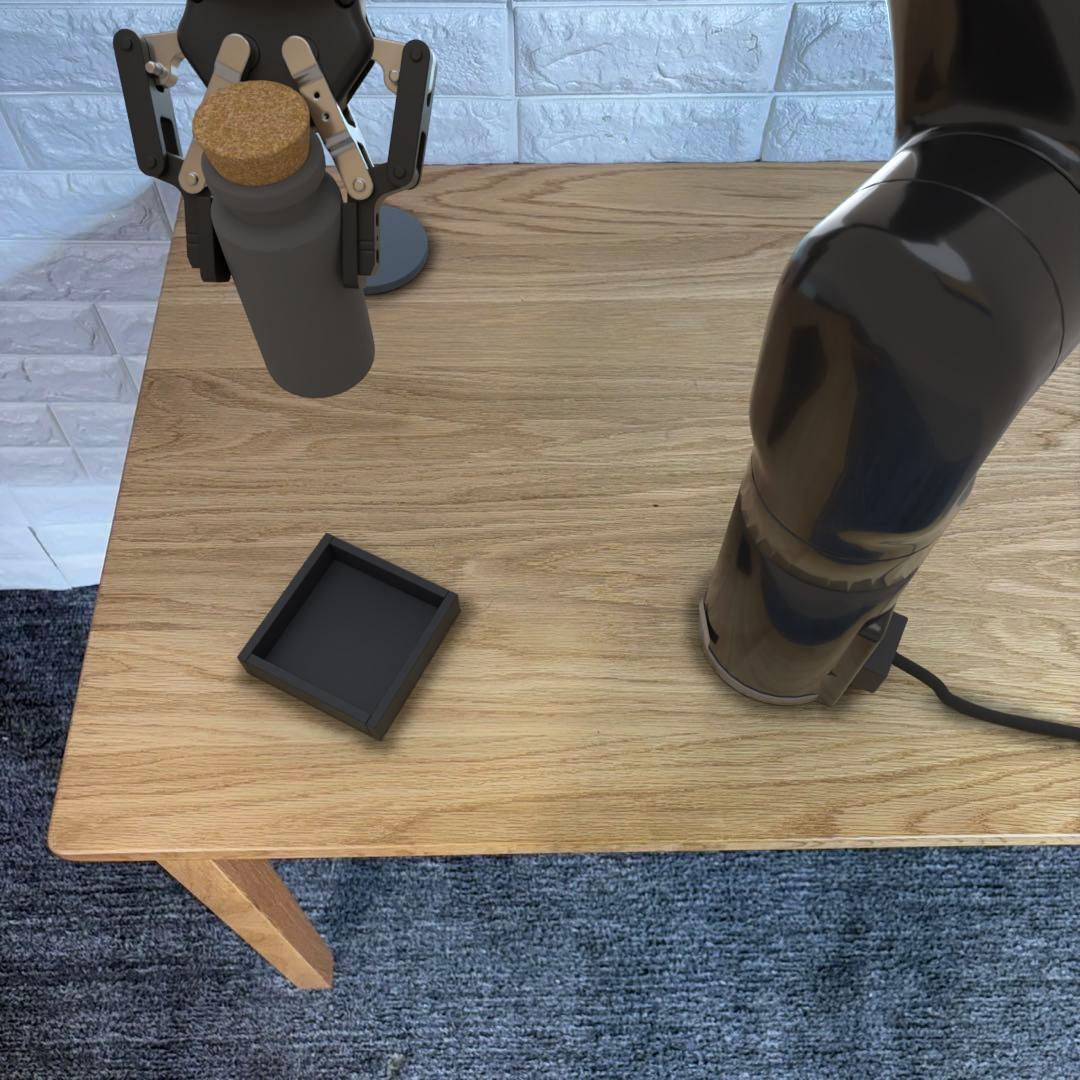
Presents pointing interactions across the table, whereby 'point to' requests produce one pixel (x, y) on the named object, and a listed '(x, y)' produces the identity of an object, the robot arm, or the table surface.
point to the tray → (351, 635)
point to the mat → (398, 251)
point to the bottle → (283, 236)
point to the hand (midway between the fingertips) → (286, 283)
